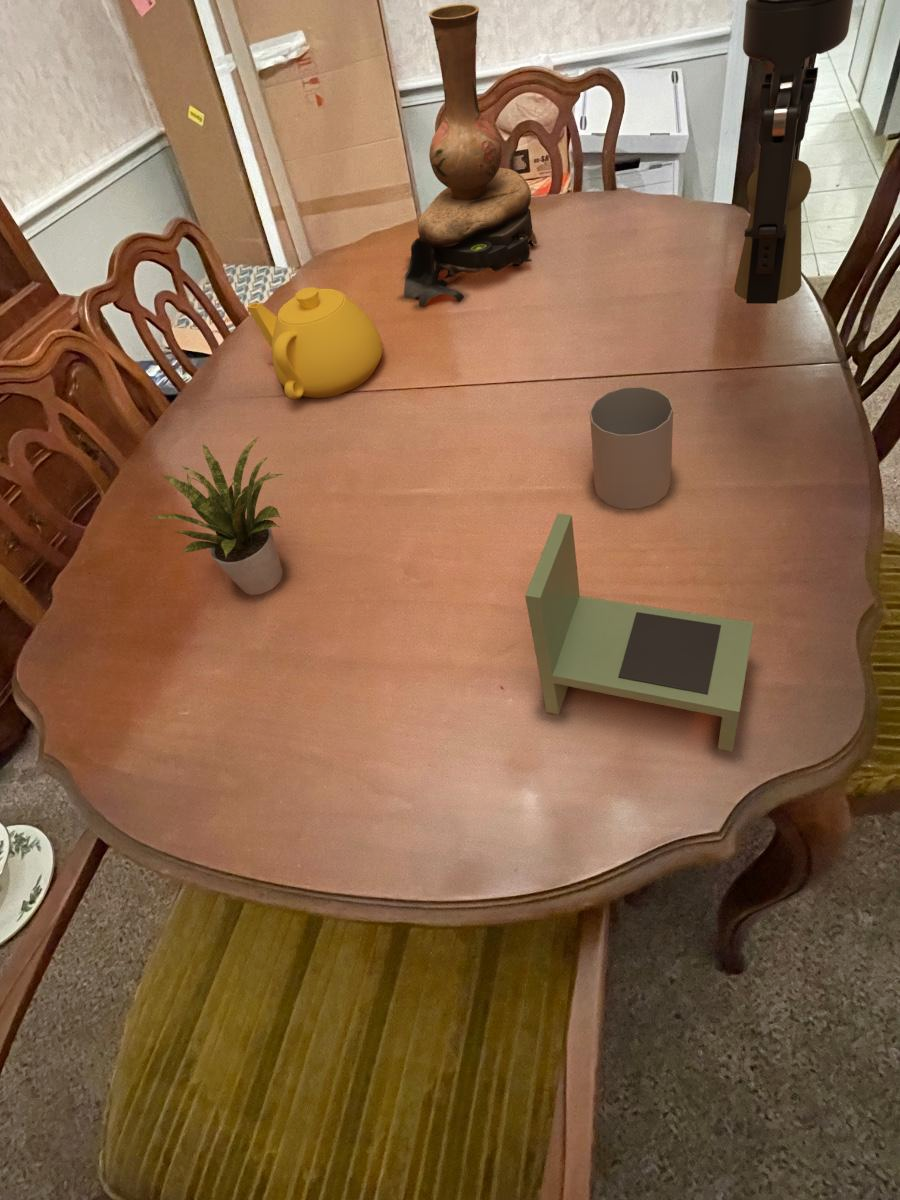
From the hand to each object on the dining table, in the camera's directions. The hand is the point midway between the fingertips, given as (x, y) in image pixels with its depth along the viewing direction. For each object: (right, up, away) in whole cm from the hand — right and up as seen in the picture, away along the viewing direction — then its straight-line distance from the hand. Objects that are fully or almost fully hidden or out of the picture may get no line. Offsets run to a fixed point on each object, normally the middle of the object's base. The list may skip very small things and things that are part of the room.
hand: (766, 283), depth 73 cm
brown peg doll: (0, 0, 0) cm, 1 cm away
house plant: (-51, -28, +15) cm, 60 cm away
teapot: (-50, +4, +42) cm, 66 cm away
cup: (-10, -18, +13) cm, 24 cm away
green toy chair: (-13, -39, -5) cm, 41 cm away
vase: (-27, +26, +56) cm, 67 cm away
